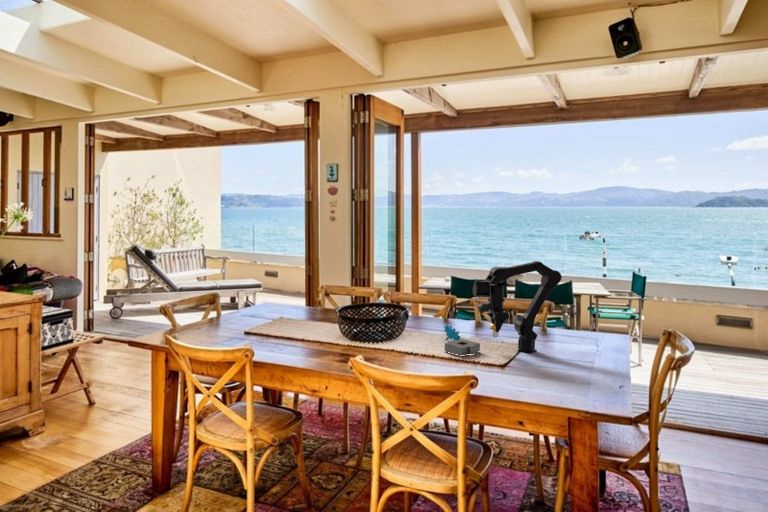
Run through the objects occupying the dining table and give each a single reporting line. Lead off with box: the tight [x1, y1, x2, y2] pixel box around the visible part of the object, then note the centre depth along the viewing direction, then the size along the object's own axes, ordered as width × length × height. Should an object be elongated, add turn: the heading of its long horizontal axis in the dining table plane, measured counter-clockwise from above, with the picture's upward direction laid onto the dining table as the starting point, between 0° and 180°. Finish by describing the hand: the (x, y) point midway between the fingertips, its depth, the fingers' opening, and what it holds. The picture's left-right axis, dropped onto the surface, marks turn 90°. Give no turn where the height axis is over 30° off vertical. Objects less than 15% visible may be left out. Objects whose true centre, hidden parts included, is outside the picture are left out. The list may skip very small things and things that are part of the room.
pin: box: [490, 323, 502, 338], centre depth 217 cm, size 4×4×6 cm
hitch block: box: [444, 338, 481, 355], centre depth 217 cm, size 12×12×4 cm
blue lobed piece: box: [443, 324, 462, 341], centre depth 237 cm, size 11×6×10 cm
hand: (495, 330), depth 217 cm, fingers closed on pin, 4 cm apart
